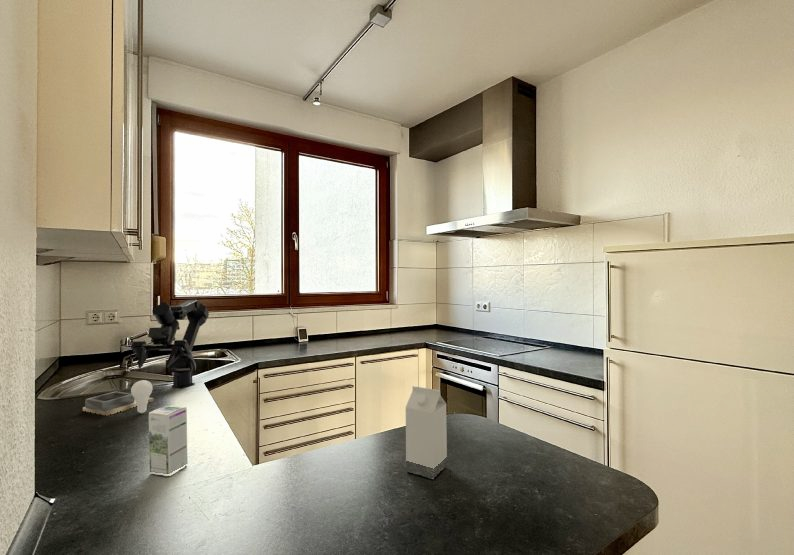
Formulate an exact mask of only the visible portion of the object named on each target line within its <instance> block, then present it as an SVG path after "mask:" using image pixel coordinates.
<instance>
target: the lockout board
mask: <svg viewBox="0 0 794 555" xmlns="http://www.w3.org/2000/svg"><path fill="white" fill-rule="evenodd" d="M84 400H85V402H84V404H85V405H84V407H82V412H85V411H86V413H90V412H91V414H95V413H96V415H100V414H101V415H102V416H105V415H106V417H107V416H111V415H114V414H117V412H118V413H120V411H121V412H125V411H127V410H130V408H131V409H133V407H134V408H137V407H136V401H135V399H134V397H133V396H132V394H131V392H123V391H118V390H117V391H112V392H108V393H103V394H100V395H95V396H92V397H88V398H85V399H84ZM149 402H150V403H153V402H154V397H149V398H148V404H149ZM110 414H111V415H110Z"/></svg>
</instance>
